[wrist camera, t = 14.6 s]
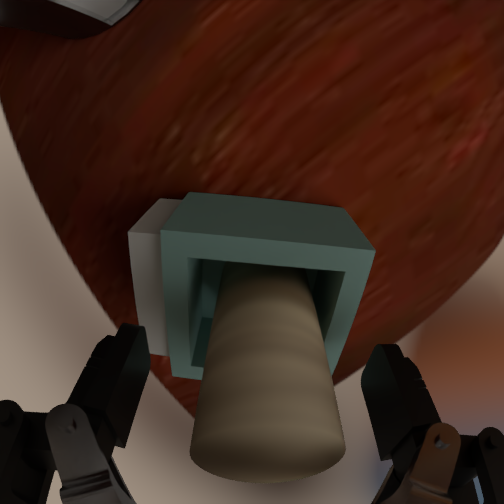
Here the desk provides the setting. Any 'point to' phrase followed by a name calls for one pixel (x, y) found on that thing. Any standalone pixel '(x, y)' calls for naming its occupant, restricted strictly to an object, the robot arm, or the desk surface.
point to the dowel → (266, 381)
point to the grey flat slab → (151, 273)
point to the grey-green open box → (258, 252)
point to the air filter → (65, 15)
